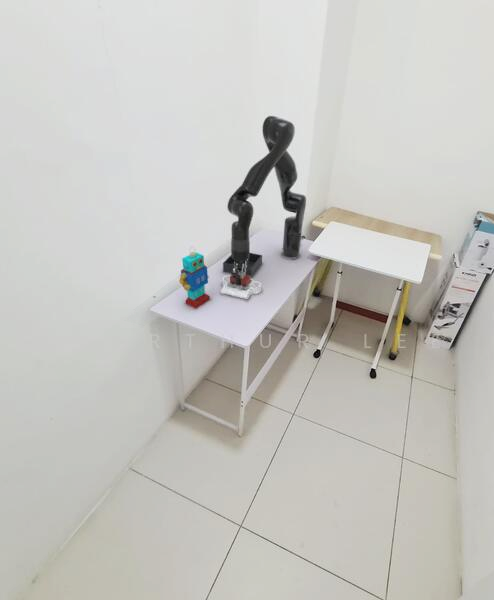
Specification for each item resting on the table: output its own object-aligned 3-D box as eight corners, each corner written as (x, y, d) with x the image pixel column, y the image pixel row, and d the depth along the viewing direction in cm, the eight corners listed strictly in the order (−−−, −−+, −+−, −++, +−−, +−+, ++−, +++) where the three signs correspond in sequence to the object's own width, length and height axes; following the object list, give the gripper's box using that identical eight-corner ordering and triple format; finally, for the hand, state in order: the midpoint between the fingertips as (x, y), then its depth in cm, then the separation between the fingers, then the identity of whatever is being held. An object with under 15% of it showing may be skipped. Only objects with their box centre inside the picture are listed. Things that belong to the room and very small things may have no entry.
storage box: (235, 258, 172) (235, 249, 169) (261, 264, 169) (262, 255, 166) (223, 272, 159) (222, 263, 157) (251, 278, 157) (251, 269, 154)
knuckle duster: (214, 293, 145) (228, 277, 156) (253, 302, 141) (264, 285, 153) (214, 287, 143) (228, 271, 154) (253, 296, 140) (265, 279, 151)
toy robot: (192, 310, 134) (186, 255, 119) (181, 304, 136) (174, 250, 122) (212, 297, 142) (209, 244, 128) (202, 292, 145) (197, 239, 130)
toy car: (229, 283, 146) (229, 273, 143) (233, 278, 149) (233, 268, 146) (246, 287, 144) (247, 277, 141) (250, 282, 148) (250, 272, 145)
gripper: (242, 256, 130) (242, 292, 140) (255, 241, 142) (254, 276, 152) (224, 252, 132) (225, 288, 141) (238, 238, 143) (238, 272, 153)
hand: (240, 281), depth 146 cm, fingers closed on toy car, 4 cm apart
